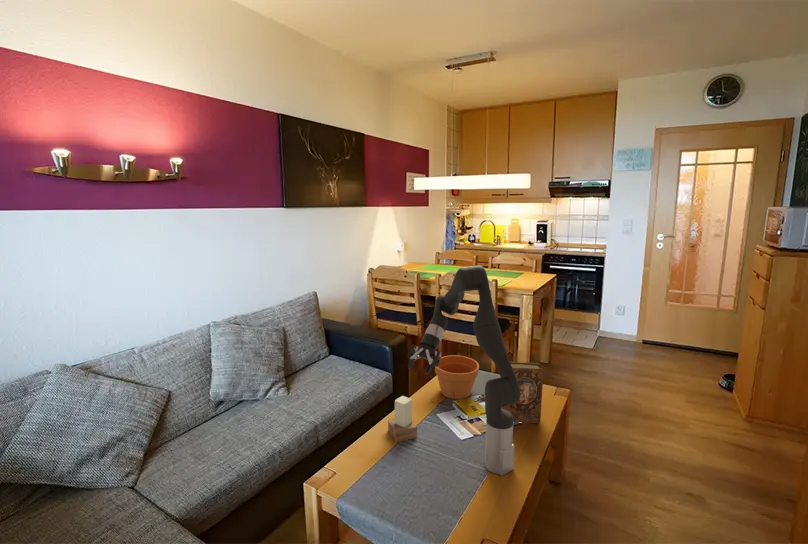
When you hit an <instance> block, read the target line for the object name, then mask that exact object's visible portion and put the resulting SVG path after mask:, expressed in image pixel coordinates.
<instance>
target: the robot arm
mask: <svg viewBox="0 0 808 544" xmlns="http://www.w3.org/2000/svg"><path fill="white" fill-rule="evenodd" d="M471 291H477V292H478V297H479V298H478V300H479V301H478V302H479V304H478V307H477V311H476V313H475V317H474V320H473V331H474V335H475V338H476V343H477V344H478V346H479V348H480V349H481V350H482V351H483V352H484V354H486V355H487V356H488V357H489V358H490V360H491V361H492V362H493V363H494V365H495V367H496V369H497V371H498V373H499V376H500V377H497V378H492V379H488V380H487V381H486V382H485V387H484V412H485V416H486V418H485V422H486V424H485V443H484V444H485V445H484V449H485V450H484V467H485V468H486V469H487V470H488V472H491V473H493V474H497V475H500V476H501V477H503V476H505V475H506V474H508V473H510V472H511V471H513V470H514V465H515V464H514V463H515V450H516V449H515V447H516V446H515V444H514V443H513V437H514V423H513V421H514V418H513V415H512V414H511V413H510V412H509V411H507V410H505V409H502V408H501V407H502V406H505V405H510V404H514V403H517V402H518V401H519V400H520V388H519V385H518V382H517V379H516V376H515V374H514V371H513V369H512V366H511V363H510V362H511V361H510V358H509V354H508V351H507V348H506V345H505V342H504V337H503V334H502V330H501V327H500V322H499V320H498V316H497V314H496V313H497V312H496V309H495V305H494V303H493V299H492V293H491V287H490V284H489V277H488V274H487V271H486V269H485V267H484V266H483V265H481V264H479V265H471V266H464V267H460V268H459V269H458V270H457V271H456V273H455V274H454V278H453V281H452V283H451V286H450V288H449V289H448V290H447V292H446V293H445V294H440V295H438V296H437V297H436V299H435V303H434V311H433V315H432V317H431V320H430V323H429V325H428V327H427V328H426V330H425V332H424V334H423V336H422V338H421V341H420V345H419V346H417V345H415V344H413V345H412V346H411V348H410V349H409V352H408V353H407V358H408V359H409V361H408V363H407V368H408V369H409V370H412V369H413V366H414V364H415V361H417V360H420V359H423V360H426V361H428V364H427V365H426V368H425V371H424V374H426V375H430V373H431V372H432V369H433V367H435V366H436V367H437V366H438V365H439V362H440V359H441V357H443V356H442V355H443V354H442V353H441V351H440V350H438V348H439V347H440V344H441V341H442V339H443V337H444V333H445V330H446V328H447V325H448V323H449V318H448V317H447V316H446V315H449V316H454V315H455V314H456V313H457V312H458V310H459V306H460V303H461V302H463V300H464V299H465V292H471ZM443 313H445V314H446V315H444V314H443ZM437 350H438V351H437ZM433 357H434V359H433Z"/></svg>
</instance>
